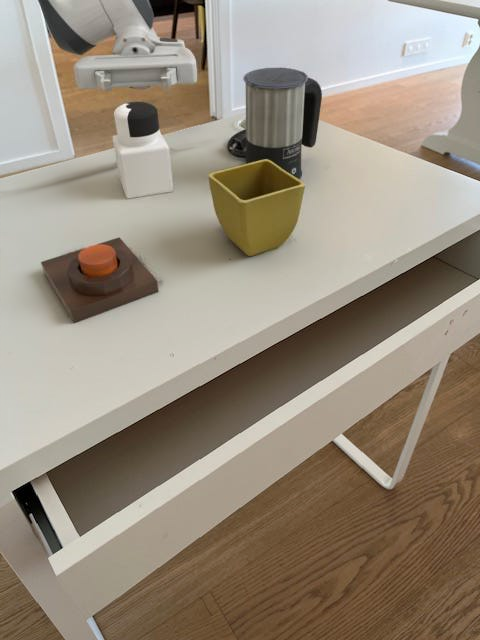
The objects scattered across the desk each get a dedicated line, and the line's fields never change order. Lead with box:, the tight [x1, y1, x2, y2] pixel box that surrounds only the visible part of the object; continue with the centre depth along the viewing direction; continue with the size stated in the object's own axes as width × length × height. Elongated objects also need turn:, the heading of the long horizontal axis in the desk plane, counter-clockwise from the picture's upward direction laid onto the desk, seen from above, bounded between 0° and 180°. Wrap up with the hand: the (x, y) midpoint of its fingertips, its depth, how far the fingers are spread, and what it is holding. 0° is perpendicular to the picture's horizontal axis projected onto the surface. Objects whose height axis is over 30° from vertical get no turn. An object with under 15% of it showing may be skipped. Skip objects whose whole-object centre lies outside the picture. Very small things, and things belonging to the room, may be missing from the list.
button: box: [78, 243, 118, 277], centre depth 57 cm, size 4×4×2 cm
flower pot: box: [207, 159, 306, 257], centre depth 63 cm, size 9×9×9 cm
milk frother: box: [226, 67, 323, 180], centre depth 79 cm, size 14×16×15 cm
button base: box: [40, 237, 160, 324], centre depth 59 cm, size 11×10×4 cm
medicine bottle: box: [112, 101, 174, 199], centre depth 75 cm, size 7×7×12 cm
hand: (136, 84), depth 81 cm, fingers open, 8 cm apart
